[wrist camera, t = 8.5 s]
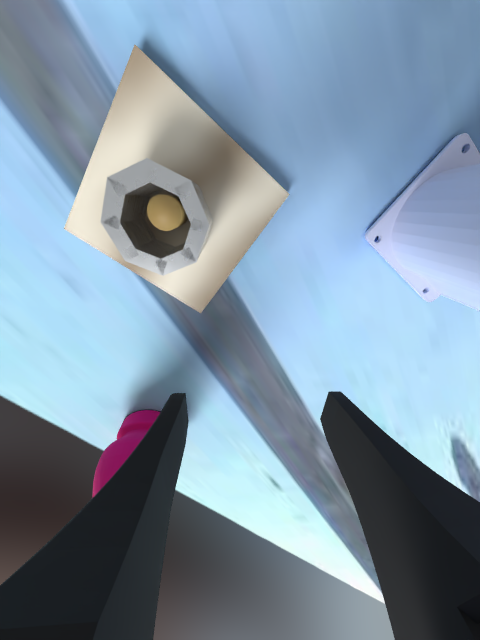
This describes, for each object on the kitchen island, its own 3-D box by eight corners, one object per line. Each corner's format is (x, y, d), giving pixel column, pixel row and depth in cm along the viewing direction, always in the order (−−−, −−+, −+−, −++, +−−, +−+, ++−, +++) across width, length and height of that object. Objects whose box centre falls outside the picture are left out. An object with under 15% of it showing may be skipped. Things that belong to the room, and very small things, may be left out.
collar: (221, 241, 16) (220, 252, 12) (158, 267, 17) (140, 285, 13) (189, 159, 14) (176, 143, 10) (116, 193, 14) (80, 190, 11)
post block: (286, 194, 16) (304, 191, 12) (201, 309, 19) (196, 332, 16) (140, 53, 12) (104, -10, 8) (71, 227, 16) (26, 234, 12)
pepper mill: (114, 440, 27) (-105, 900, 9) (124, 399, 24) (-175, 968, 6) (173, 450, 28) (84, 859, 11) (189, 414, 25) (103, 898, 8)
